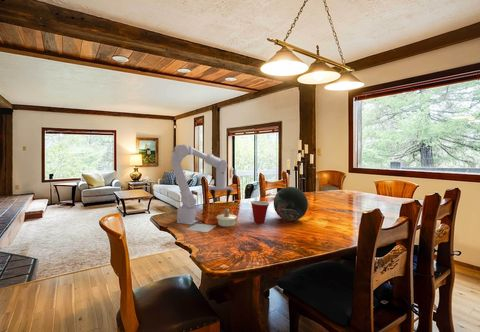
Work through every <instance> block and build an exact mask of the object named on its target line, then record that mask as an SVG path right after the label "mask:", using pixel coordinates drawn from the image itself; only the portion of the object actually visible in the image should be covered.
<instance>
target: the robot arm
mask: <svg viewBox="0 0 480 332" xmlns="http://www.w3.org/2000/svg"><path fill="white" fill-rule="evenodd" d="M171 151H172V155H171V158H170V164H171V165H170V166H171V167H172V171H173V173H174V177H175V179H176V182H177V184H178V185H177V186H178V188H179V191H180V202H181V204H182V205H181V206H179V207H177V212H176V219H177V220H176V221H177V222H176V224H183V225H184V224H186V225H192V224H193V225H194V224H196V223H197V222H199V220H196V204H197V199H196V197H195V196H194V195H193V193H192V191H191V189H190V186H189V183H188V181H187V178H186V175H185V172H184V169H183V166H182V162H183V161H184V159H185V158H186V157H187V156H189V155H190V156H195V157H197V158H199V159H202V160H203V161H204V163H205V164H208V165H210V166H211V167H214V168H215V171H216V174H215V175H216V176H215V181H216V182H215V183H216V185H215V186H209V187H208V191H210V194H211V197H212V201H213V204H214V203H216V191H224V192H225V191H226V202H225V203H226V204H228V203H229V198H230V195H231V193H232V192H233V191H234V187H233V186H227V185H226V184H227V182H226V181H227V180H226V179H227V178H226V177H227V168H228V162H227V161H226V160H224V159H222V158H221V157H217V156H215V155H214V154H213V153H208V154H206V153H204V152H202V151H200V150H198V149H196V148H194V147H192V146H189V145H186V144H177V145H176V146H174V147H173V149H172V150H171Z"/></svg>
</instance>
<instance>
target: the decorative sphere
mask: <svg viewBox="0 0 480 332" xmlns="http://www.w3.org/2000/svg"><path fill="white" fill-rule="evenodd" d="M273 208H274V211H275V213H276V215H277V216H278V217H279V218H281V219H283V220H284V221H289V222H295V221H298V220H300V219H302V218H303V217H304V216H305V214H306V213H307V211H308V208H309V201H308V197H307V195H306V194H305V192H303V191H302V190H301V189H300V188H297V187H295V186H286V187H283V188H281V189H280V190H278V192H276V194H275V196H274V198H273Z"/></svg>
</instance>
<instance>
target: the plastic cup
mask: <svg viewBox="0 0 480 332" xmlns="http://www.w3.org/2000/svg"><path fill="white" fill-rule="evenodd" d="M250 204H251V210H252V216H253V222H254V223H255V224H256V225H257V224H258V225H262V224H264V223H265V221H266V217H267V212H268V209H269V205H270V202H267V201H263V200H262V201H261V200H251V201H250Z"/></svg>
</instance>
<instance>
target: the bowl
mask: <svg viewBox="0 0 480 332" xmlns="http://www.w3.org/2000/svg"><path fill="white" fill-rule="evenodd" d="M217 220H218V223H217V224H218V225H219V226H221V227H233V226H235V225H236V219H235V220H219V219H217Z"/></svg>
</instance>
